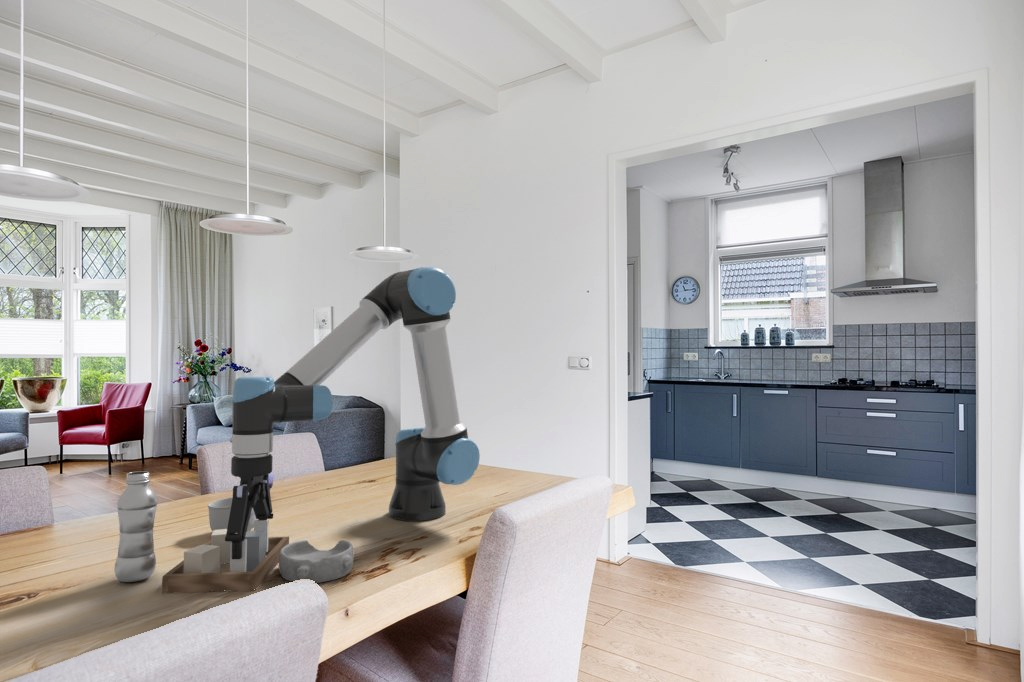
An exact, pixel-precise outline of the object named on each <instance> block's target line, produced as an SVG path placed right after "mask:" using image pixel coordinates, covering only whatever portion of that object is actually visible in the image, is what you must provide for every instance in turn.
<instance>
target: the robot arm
mask: <svg viewBox="0 0 1024 682" xmlns="http://www.w3.org/2000/svg"><path fill="white" fill-rule="evenodd" d="M456 298H457V291H456V287H455V284H454V282H453V280H452V278H451V277H450V276H449V275H448V274H447V273H446V272H445V271H444V270H442V269H441V268H438V267H433V266H428V267H423V266H421V267H418V268H414V269H409V270H403V271H398V272H395V273H392V274H391V275H389V276H387V277H386V278H384V279H383V280H382V281H381V282H380V283H379V284H377V285H376V286H375V287H374V288H373V289H372V290H370V292H368V293H367V294H366V295H365V296H364V297H362V298H361V300H360V301H359V307H358V308H356V310H355V309H354V311H353V312H352V313H350V315H348V316H347V317H346V318H345V319H344V320H343V321H342V322H340V323H339V324H338V325H337V327H335V328H333V330H331V332H329V333H328V334H327V335H326V336H325V337H324V338H323V339H322V340H321V341H319V342H318V343H317V344H316V345H315V346H313V347H312V348H311V349H310V350H309V351H308V352H307V353H305V355H304V356H301V358H300V359H299V360H298V361H296V362H295V364H293V365H292V366H291V367H290V368H288V369H287V371H285V372H284V373H283V374H282V375H280V376H279V377H278V378H277V379H276V380H274V378H273V377H271V376H241V377H237V378H236V379H235V381H234V383H233V390H232V399H231V402H232V431H231V432H232V433H231V434H232V435H231V437H230V438H229V442H230V443H232V444H231V453H232V454H233V456H232V457H231V461H230V463H231V468H230V472H231V474H230V475H232V476H234V477H238V478H240V481H239V485H234V486H233V488H232V497H233V498H232V504H231V510H230V516H229V522H228V527H227V533H226V537H225V541H231V545H230V563H229V572H246V564H247V539H245V536H246V531H247V527H248V523H249V519H250V515H251V511H252V508H253V510H254V513H255V516H256V519H258V520H255V521H254V527H253V531H266V548H265V553H269V552H268V537H269V530H270V529H269V527H270V525H269V523H270V522H269V520H273V519H274V513H273V506H272V505H273V504H272V498H271V497H272V496H271V489H269V475H268V474H272V472H273V458H274V457H273V455H272V454H271V453H272V452H273V451H274V424H280V423H291V422H292V423H293V422H294V423H296V422H297V423H298V422H310V421H311V422H315V421H321V420H325V419H327V418H328V417H329V416H330V415H331V413H332V411H333V394H332V392H331V390H330V388H329V387H328V386H327V385H324V384H323V383H324V382H325V381H326V380H327V379H328V378H330V376H332V374H334V373H335V372H336V371H337V369H339V368H340V367H341V366H343V364H345V362H346V361H347V360H349V359H350V358H351V357H352V356H353V355H354V354H355V353H356V352H357V351H358V350H359V349H360V348H361V347H362V346H364V345H365V344H366V343H367V342H368V341H369V340H370V339H372V337H374V336H375V335H376V333H378V332H379V331H380V330H386V329H388V328H389V327H390V326H391V325H392V324H393V323H395V322H397V321H399V320H402V325H403V327H404V328H405V329H406V330H408V331H409V333H410V335H411V342H412V348H413V354H414V359H415V366H416V367H415V368H416V374H417V378H418V387H419V393H420V399H421V405H422V406H421V407H422V412H423V417H424V424H425V426H424V427H418V428H417V427H416V428H414V427H413V428H405V429H400V430H398V431H397V433H396V438H395V445H394V446H395V487H394V489H393V492H392V495H391V499H390V501H389V504H388V516H389V517H390V518H392V519H394V520H400V521H409V522H410V521H411V522H412V521H413V522H416V521H417V522H418V521H429V520H434V519H437V518H441V517H443V516H444V515H446V501H445V499H444V495H443V491H442V489H441V485H440V483H442V484H444V485H452V486H459V485H462V484H464V483H466V482H467V481H469V480H470V479H471V478H472V477H473V476H474V475H475V472H476V471H477V469H478V466H479V465H480V456H481V454H480V449H479V447H478V445H477V443H476V442H474V441H473V440H472V439H470V438H469V434H468V429H467V425H466V424H465V423H464V422H462V421H461V420H460V416H459V415H460V414H459V408H458V401H457V393H456V390H455V382H454V374H453V368H452V361H451V355H450V349H449V341H448V336H447V335H448V333H447V328H446V327H447V325H448V324H449V323H450V321H451V315H450V311H451V310H452V309H453V307H454V304H455V303H456ZM235 533H237V534H235Z"/></svg>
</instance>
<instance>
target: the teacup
mask: <svg viewBox="0 0 1024 682" xmlns="http://www.w3.org/2000/svg"><path fill="white" fill-rule="evenodd" d="M232 498H233V496H230V497H228V496H227V497H225V498H224V497H223V498H220V499H216V500H213V501H211V502H209V503H208V504H207V508H208V521H209V526H210V529H211V532H213V530H219V529H227V527H228V522H229V516H230V510H231V504H232ZM255 520H258V519H256V516H255V513H254V510H253V508H252V511H251V515H250V519H249V523H248V527H247V531H252V529H254V521H255Z"/></svg>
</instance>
